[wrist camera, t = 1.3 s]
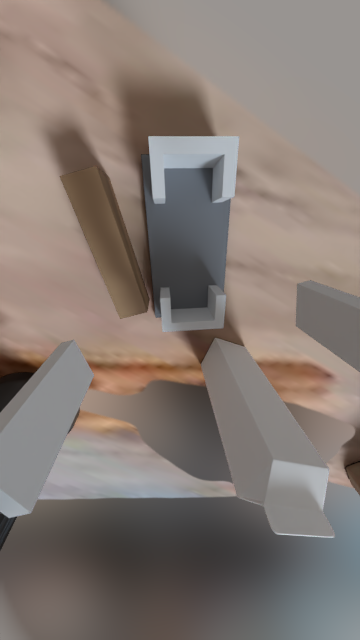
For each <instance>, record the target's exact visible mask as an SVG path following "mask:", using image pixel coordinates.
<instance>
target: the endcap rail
mask: <svg viewBox="0 0 360 640" xmlns="http://www.w3.org/2000/svg"><path fill="white" fill-rule="evenodd" d="M148 140H149V153H150V154H141V158H142V169H143V181H144V192H145V203H146V215H147V226H148V237H149V249H150V260H151V272H152V283H153V294H154V306H155V317H156V318H158V317H162V330H163V332H170V331H186V330H203V329H219V328H224V316H225V304H226V294H225V293H224V280H225V267H226V253H227V240H228V227H229V213H230V200H231V198H233V197H234V194H235V182H236V170H237V157H238V145H239V136H148Z"/></svg>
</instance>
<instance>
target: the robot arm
mask: <svg viewBox="0 0 360 640" xmlns="http://www.w3.org/2000/svg"><path fill="white" fill-rule="evenodd" d="M296 326H297V327H298V328H299V329H301V330H302V331H304V332H305V333H306V334H308V335H309V336H310V337H312V338H313V339H315V340H316V341H317V342H319V343H320V344H322V345H323V346H324V347H326V348H327V349H328V350H330V351H331V352H333V353H334V354H335V355H337V356H338V357H340V358H341V359H342V360H344V361H345V362H347V363H348V364H349V365H351V366H352V367H353V368H355V369H356V370H358V371H359V372H360V297H357V296H354V295H351V294H348V293H346V292H343V291H340V290H337V289H334V288H331V287H328V286H325V285H322V284H319V283H317V282H314V281H311V280H310V281H306V282H302V283H298V284H297V303H296ZM93 377H94V374H93V372H92V371H91V369H90V367H89V365H88V363H87V362H86V360H85V358H84V356H83V355H82V353H81V351H80V349H79V347H78V346H77V344H76V342H75V340H71V341H67V342H63V343H61V344H60V345H59V346H58V347H57V348H56V350H55V351H54V352H53V353H52V354H51V355H50V356H49V358H48V359H47V360H46V361H45V362H44V363H43V364H42V366H41V367H40V368H39V369H38V370H37V371H36V372H35V373H14V374H9V375H6V376H3V377H1V378H0V550H1V548H2V546H3V544H4V542H5V540H6V538H7V536H8V534H9V532H10V530H11V528H12V526H13V524H14V522H15V520H16V518H17V516H20V515H24V514H28V513H31V512H32V510H33V508H34V505H35V503H36V501H37V499H38V497H39V495H40V492H41V490H42V488H43V486H44V484H45V482H46V479H47V477H48V475H49V473H50V471H51V468H52V466H53V464H54V462H55V460H56V458H57V455H58V453H59V451H60V449H61V447H62V444H63V442H64V440H65V438H66V436H67V434H68V433H69V432H70V431H71V429H72V428H73V426H74V424H75V422H76V420H77V418H78V415H79V412H80V405H81V403H82V401H83V398H84V396H85V394H86V392H87V390H88V388H89V385H90V383H91V381H92V379H93Z"/></svg>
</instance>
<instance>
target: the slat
mask: <svg viewBox="0 0 360 640" xmlns="http://www.w3.org/2000/svg"><path fill="white" fill-rule="evenodd" d="M60 178H61V181H62V183H63V185H64V188H65V190H66V192H67V195H68V197H69V199H70V202H71V204H72V206H73V209H74V211H75V213H76V216H77V218H78V221H79V223H80V225H81V228H82V230H83V232H84V235H85V237H86V239H87V242H88V244H89V246H90V249H91V251H92V253H93V256H94V258H95V261H96V263H97V265H98V268H99V270H100V272H101V275H102V277H103V279H104V282H105V284H106V286H107V289H108V291H109V294H110V296H111V298H112V301H113V303H114V305H115V308H116V310H117V312H118V315H119V317H120V319H122V318H126V317H130V316H134V315H138V314H141V313H145V312H147V310H148V305H149V300H150V299H149V296H148V293H147V290H146V287H145V284H144V281H143V278H142V275H141V272H140V269H139V266H138V263H137V260H136V257H135V254H134V251H133V248H132V245H131V242H130V239H129V236H128V233H127V230H126V227H125V224H124V221H123V218H122V215H121V212H120V209H119V206H118V202H117V199H116V196H115V193H114V190H113V187H112V184H111V181H110V178H109V177H108V176H107V175H106V174H104V173H103V172H102V171H101V170H100V169H99V168H98V167H97V166H94V167H90V168H87V169H83V170H80V171H76V172H73V173H69V174H66V175H62V176H60Z"/></svg>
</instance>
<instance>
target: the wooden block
mask: <svg viewBox="0 0 360 640" xmlns="http://www.w3.org/2000/svg"><path fill="white" fill-rule="evenodd" d="M346 470H347V473H348V476H349V479H350V482H351V484H352V485H353V487H354V488H355V490H356V491H357V492H358V494H359V495H360V462H358V463H355V464H353V465H350V466H347V468H346Z"/></svg>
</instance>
